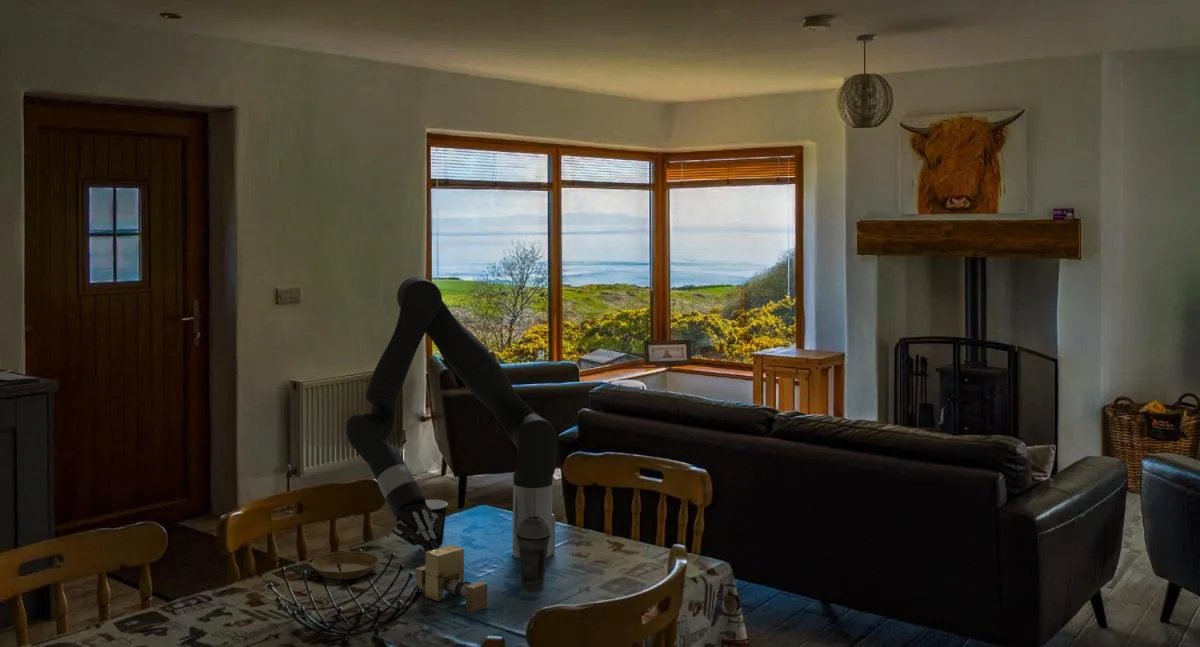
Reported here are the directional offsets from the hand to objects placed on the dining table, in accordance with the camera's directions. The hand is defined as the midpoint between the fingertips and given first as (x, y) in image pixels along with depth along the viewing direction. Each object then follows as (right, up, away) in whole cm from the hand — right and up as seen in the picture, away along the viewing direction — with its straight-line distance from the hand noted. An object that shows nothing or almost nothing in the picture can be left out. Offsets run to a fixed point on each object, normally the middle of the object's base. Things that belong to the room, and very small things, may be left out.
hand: (436, 557), depth 228 cm
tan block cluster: (+3, -8, -2) cm, 9 cm away
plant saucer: (-23, -7, +14) cm, 28 cm away
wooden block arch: (+2, -8, -1) cm, 8 cm away
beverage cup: (+20, -8, +6) cm, 22 cm away
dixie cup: (-6, -5, +32) cm, 33 cm away
